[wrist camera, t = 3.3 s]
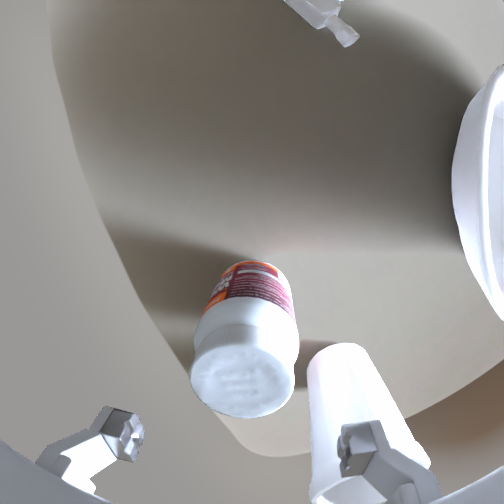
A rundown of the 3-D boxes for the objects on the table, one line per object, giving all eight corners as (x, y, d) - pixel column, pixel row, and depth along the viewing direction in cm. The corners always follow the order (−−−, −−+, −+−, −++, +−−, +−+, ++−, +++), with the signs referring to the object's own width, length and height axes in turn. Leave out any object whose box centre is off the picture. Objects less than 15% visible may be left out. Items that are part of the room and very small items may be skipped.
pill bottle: (223, 251, 22) (181, 317, 11) (298, 266, 22) (322, 345, 11) (212, 317, 24) (175, 409, 13) (280, 331, 24) (285, 430, 13)
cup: (368, 390, 25) (406, 497, 11) (295, 397, 26) (302, 518, 12) (382, 327, 23) (451, 441, 9) (298, 334, 24) (316, 473, 10)
